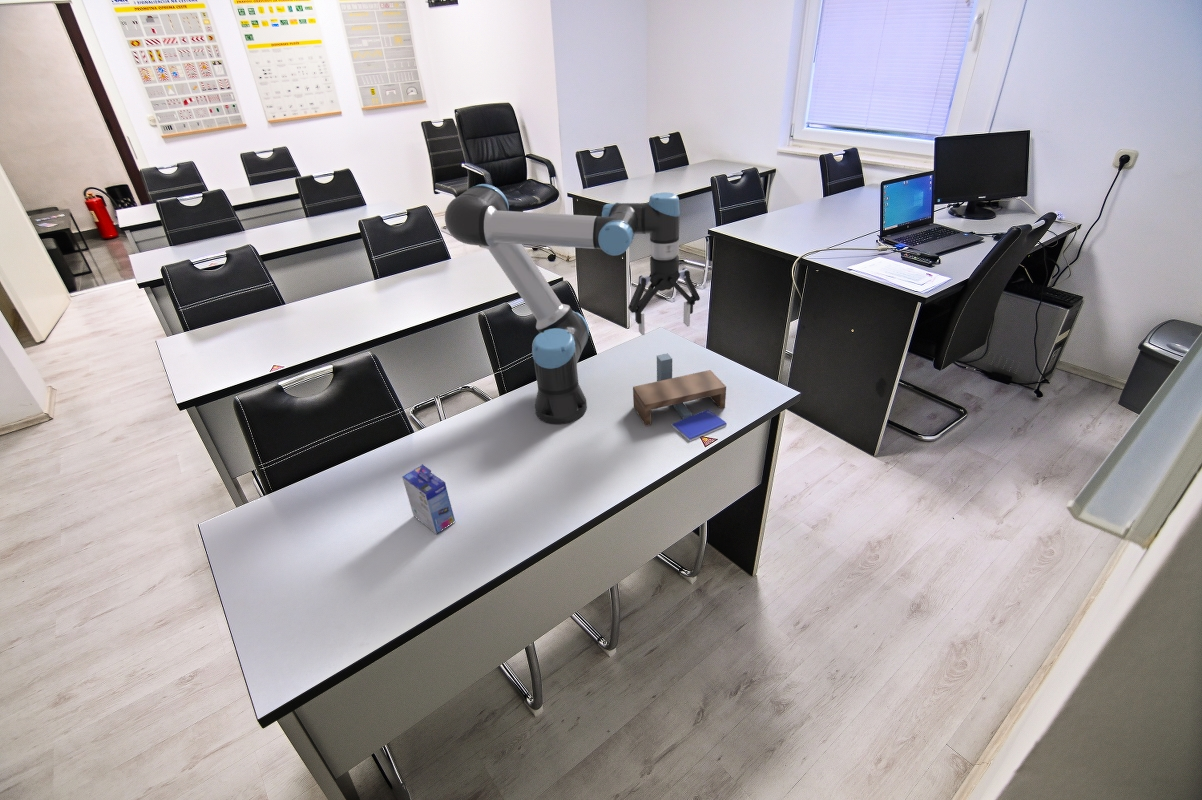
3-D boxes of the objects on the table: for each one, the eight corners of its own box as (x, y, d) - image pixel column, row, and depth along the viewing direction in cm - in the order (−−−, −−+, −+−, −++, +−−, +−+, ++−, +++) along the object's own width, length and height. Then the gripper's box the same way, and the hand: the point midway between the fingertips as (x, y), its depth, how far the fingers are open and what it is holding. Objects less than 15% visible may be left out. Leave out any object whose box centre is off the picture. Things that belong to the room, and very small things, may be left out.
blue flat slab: (707, 408, 159) (671, 423, 154) (726, 422, 153) (689, 438, 148) (707, 413, 160) (671, 427, 155) (726, 427, 154) (689, 443, 149)
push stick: (681, 420, 157) (682, 386, 151) (657, 387, 172) (656, 355, 166) (693, 417, 158) (694, 384, 151) (667, 384, 173) (667, 353, 167)
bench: (645, 426, 156) (645, 405, 152) (633, 407, 164) (632, 386, 160) (724, 407, 161) (726, 386, 157) (709, 390, 169) (710, 369, 165)
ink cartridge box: (457, 521, 129) (443, 473, 122) (437, 536, 126) (422, 487, 118) (433, 503, 135) (418, 456, 127) (413, 516, 132) (396, 468, 124)
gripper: (624, 267, 142) (626, 342, 154) (714, 252, 148) (710, 326, 159) (614, 258, 148) (618, 331, 160) (701, 244, 154) (699, 315, 165)
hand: (664, 328), depth 160 cm, fingers open, 13 cm apart
